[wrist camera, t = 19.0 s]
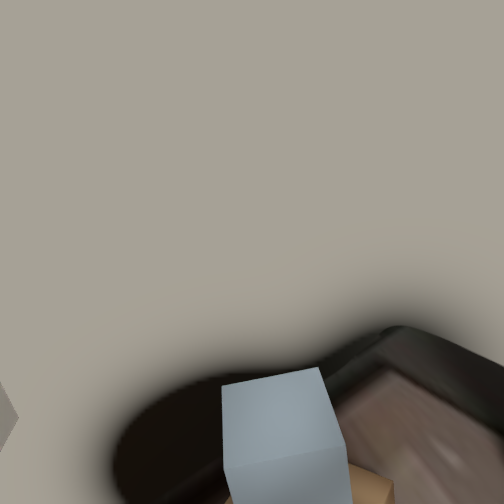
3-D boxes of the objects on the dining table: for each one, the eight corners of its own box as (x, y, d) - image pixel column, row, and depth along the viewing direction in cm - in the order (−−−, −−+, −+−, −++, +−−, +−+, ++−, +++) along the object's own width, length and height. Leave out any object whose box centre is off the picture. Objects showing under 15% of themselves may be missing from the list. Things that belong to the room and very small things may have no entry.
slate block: (245, 480, 39) (221, 386, 35) (331, 463, 39) (318, 367, 35) (253, 574, 32) (223, 469, 28) (358, 553, 32) (345, 444, 28)
